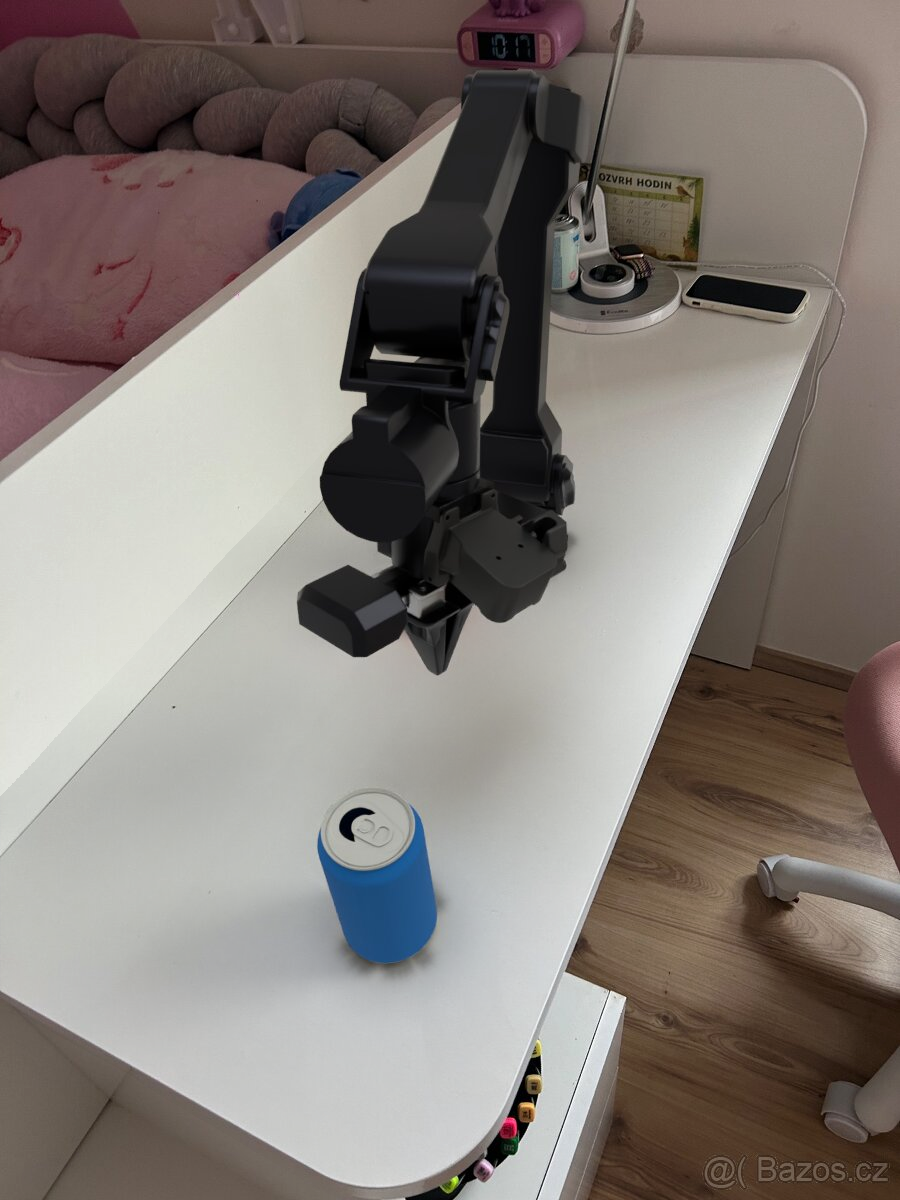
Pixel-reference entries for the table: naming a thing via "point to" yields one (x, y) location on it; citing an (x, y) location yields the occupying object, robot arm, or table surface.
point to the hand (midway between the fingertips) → (437, 671)
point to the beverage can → (378, 873)
